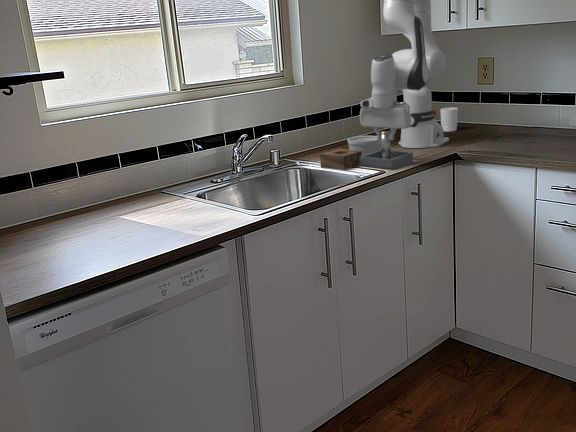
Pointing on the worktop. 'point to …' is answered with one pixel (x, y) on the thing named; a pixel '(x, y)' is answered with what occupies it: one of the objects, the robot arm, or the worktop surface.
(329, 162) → the walnut pin block
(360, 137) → the ramekin
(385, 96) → the robot arm
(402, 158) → the slate tray
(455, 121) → the white cup
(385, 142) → the steel pin
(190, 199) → the worktop surface
